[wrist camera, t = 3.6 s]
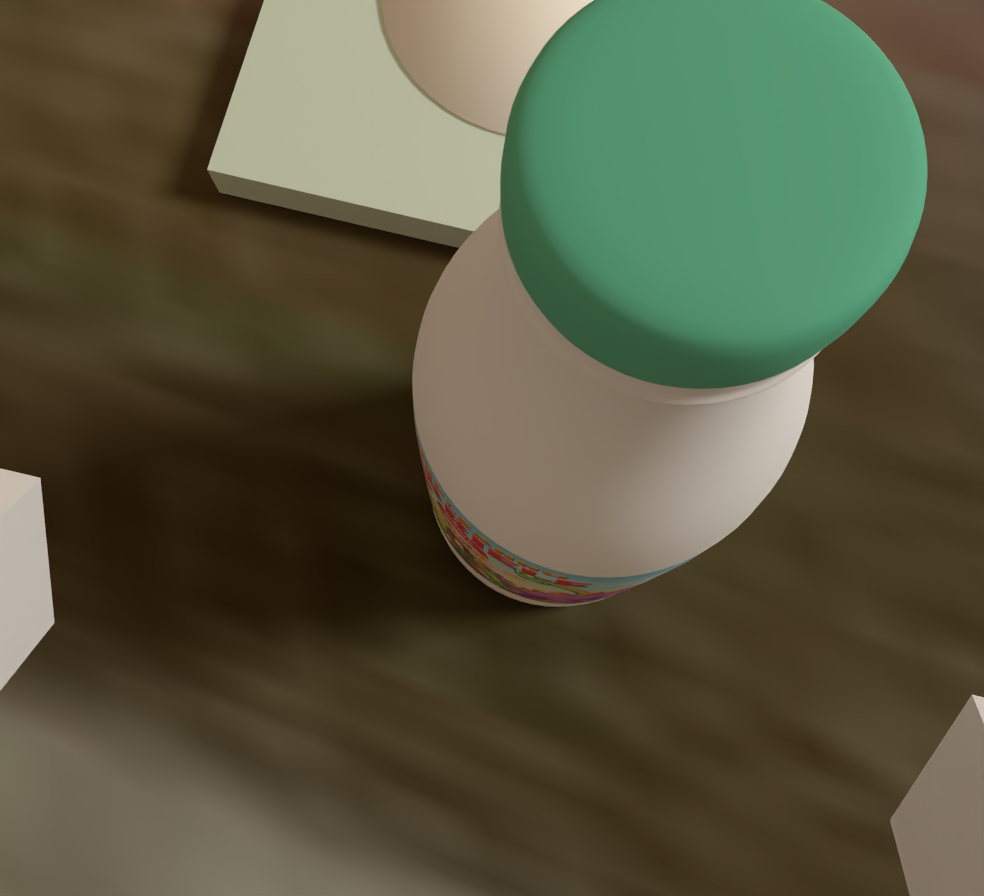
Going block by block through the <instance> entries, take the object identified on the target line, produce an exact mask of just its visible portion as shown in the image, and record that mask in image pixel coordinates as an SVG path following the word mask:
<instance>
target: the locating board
mask: <svg viewBox="0 0 984 896" xmlns="http://www.w3.org/2000/svg"><path fill="white" fill-rule="evenodd" d="M592 1H594V0H264V2H263V5H262V8H261V11H260V14H259V17H258V20H257V23H256V26H255V29H254V32H253V35H252V38H251V41H250V44H249V47H248V50H247V52H246V55H245V58H244V61H243V64H242V67H241V70H240V73H239V76H238V79H237V82H236V85H235V88H234V91H233V94H232V97H231V100H230V103H229V106H228V109H227V112H226V115H225V118H224V121H223V124H222V127H221V130H220V133H219V136H218V139H217V142H216V145H215V147H214V150H213V153H212V156H211V159H210V162H209V165H208V168H207V170H208V172H209V174H210V176H211V178H212V180H213V182H214V183H215V185H216V187H217V189H218V191H219V193H224V194H228V195H232V196H237V197H241V198H245V199H250V200H254V201H258V202H263V203H267V204H271V205H276V206H280V207H284V208H288V209H293V210H297V211H301V212H306V213H310V214H314V215H319V216H323V217H327V218H332V219H336V220H340V221H344V222H349V223H353V224H357V225H362V226H366V227H370V228H375V229H379V230H383V231H388V232H392V233H396V234H401V235H405V236H409V237H413V238H418V239H422V240H426V241H431V242H435V243H439V244H444V245H448V246H452V247H457V248H460V247H461V246H462V244H463V243H464V242H465V241H466V239H467V238H468V237H469V236H470V235H471V234H472V233H473V232H474V231H475V230H476V229H477V228H478V227H479V226H480V225H481V224H482V223H483V222H484V221H485V220H486V219H487V218H488V217H490V216H491V215H492V214H493V213H494V212H496V211H497V210H498V209H499V205H500V176H501V161H502V155H503V148H504V142H505V136H506V130H507V123H508V119H509V116H510V112H511V108H512V105H513V102H514V100H515V97H516V95H517V92H518V89H519V87H520V85H521V83H522V81H523V79H524V78H525V76H526V74H527V72H528V70H529V68H530V67H531V65H532V64H533V62H534V60H535V59H536V57H537V56H538V54H539V53H540V51H541V50H542V48H543V47H544V45H545V44H546V43H547V42H548V40H549V39H550V38H551V37H552V36H553V34H554V33H555V32H556V31H557V30H558V29H559V28H560V27H561V26H562V25H563V24H564V23H565V22H566V21H567V20H568V19H569V18H570V17H572V16H573V15H574V14H575V13H577V12H578V11H579V10H581V9H582V8H583V7H584V6H586V5H588V4H589V3H591V2H592Z"/></svg>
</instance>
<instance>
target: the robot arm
mask: <svg viewBox="0 0 984 896" xmlns="http://www.w3.org/2000/svg"><path fill="white" fill-rule="evenodd" d="M53 624H54V612H53V602H52V592H51V581H50V571H49V561H48V550H47V540H46V530H45V520H44V509H43V499H42V489H41V478H39V477H35V476H30V475H26V474H22V473H18V472H13V471H9V470H5V469H0V690H1V689H2V688H3V687H4V685H5V684H6V683H7V682H8V680H9V679H10V678H11V677H12V675H13V674H14V673H15V672H16V670H17V669H18V668H19V667H20V665H21V664H22V663H23V662H24V660H25V659H26V658H27V657H28V655H29V654H30V653H31V652H32V650H33V649H34V648H35V646H36V645H37V644H38V643H39V641H40V640H41V639H42V638H43V636H44V635H45V634H46V633H47V631H48V630H49V629H50V628H51V626H52V625H53ZM890 822H891V826H892V830H893V834H894V837H895V841H896V845H897V849H898V852H899V856H900V860H901V864H902V868H903V871H904V875H905V879H906V883H907V887H908V890H909V894H910V896H984V697H980V696H976V695H971V697H970V699H969V700H968V702H967V703H966V705H965V706H964V708H963V709H962V711H961V712H960V714H959V715H958V717H957V718H956V720H955V721H954V723H953V725H952V726H951V728H950V729H949V731H948V732H947V734H946V735H945V737H944V738H943V740H942V741H941V743H940V744H939V746H938V747H937V749H936V751H935V752H934V754H933V755H932V757H931V758H930V760H929V761H928V763H927V764H926V766H925V767H924V769H923V770H922V772H921V773H920V775H919V777H918V778H917V780H916V781H915V783H914V784H913V786H912V787H911V789H910V790H909V792H908V793H907V795H906V796H905V798H904V799H903V801H902V803H901V804H900V806H899V807H898V809H897V810H896V812H895V813H894V815H893V816H892V818H891V819H890Z"/></svg>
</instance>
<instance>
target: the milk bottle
mask: <svg viewBox="0 0 984 896" xmlns="http://www.w3.org/2000/svg"><path fill="white" fill-rule="evenodd" d="M926 189H927V156H926V148H925V142H924V136H923V131H922V128H921V124H920V120H919V117H918V114H917V111H916V109H915V106H914V104H913V101H912V98H911V96H910V94H909V92H908V90H907V88H906V86H905V85H904V83H903V81H902V79H901V78H900V76H899V74H898V73H897V71H896V70H895V68H894V66H893V65H892V64H891V62H890V61H889V60H888V58H887V57H886V56H885V54H884V53H883V52H882V51H881V49H880V48H879V47H878V46H877V45H876V44H875V43H874V42H873V41H872V40H871V39H870V37H869V36H868V35H867V34H865V33H864V32H863V31H862V30H861V29H860V28H859V27H858V26H857V25H856V24H854V23H853V22H852V21H851V20H849V19H848V18H847V17H845V16H844V15H843V14H841V13H840V12H839V11H837V10H836V9H834V8H833V7H831V6H829V5H828V4H826V3H825V2H823V1H822V0H594V1H592V2H591V3H589V4H588V5H586V6H584V7H583V8H582V9H581V10H579V11H578V12H577V13H575V14H574V15H573V16H572V17H570V18H569V19H568V20H567V21H566V22H565V23H564V24H563V25H562V26H561V27H560V28H559V29H558V30H557V31H556V32H555V33H554V34H553V36H552V37H551V38H550V39H549V40H548V42H547V43H546V44H545V45H544V47H543V48H542V50H541V51H540V53H539V54H538V56H537V57H536V59H535V60H534V62H533V64H532V65H531V67H530V68H529V70H528V72H527V74H526V76H525V78H524V79H523V81H522V83H521V85H520V87H519V89H518V92H517V95H516V97H515V100H514V102H513V105H512V108H511V112H510V116H509V119H508V123H507V130H506V136H505V142H504V148H503V155H502V161H501V176H500V205H499V209H498V210H497V211H496V212H494V213H493V214H492V215H491V216H490V217H488V218H487V219H486V220H485V221H484V222H483V223H482V224H481V225H480V226H479V227H478V228H477V229H476V230H475V231H474V232H473V233H472V234H471V235H470V236H469V237H468V238H467V239H466V241H465V242H464V243H463V244H462V246H461V247H460V248H459V249H458V251H457V252H456V253H455V254H454V256H453V257H452V259H451V261H450V262H449V264H448V265H447V267H446V268H445V270H444V272H443V274H442V275H441V277H440V279H439V281H438V283H437V285H436V287H435V289H434V291H433V293H432V294H431V297H430V299H429V302H428V304H427V307H426V310H425V312H424V316H423V319H422V323H421V326H420V330H419V335H418V339H417V344H416V349H415V355H414V361H413V376H412V385H413V406H414V421H415V428H416V435H417V441H418V446H419V451H420V456H421V461H422V466H423V470H424V474H425V479H426V483H427V487H428V491H429V495H430V500H431V503H432V507H433V511H434V514H435V517H436V520H437V523H438V525H439V527H440V530H441V532H442V534H443V536H444V538H445V540H446V541H447V543H448V545H449V546H450V548H451V550H452V551H453V553H454V554H455V555H456V557H457V558H458V559H459V561H460V562H461V563H462V564H463V565H464V566H465V567H466V568H467V569H468V570H469V571H470V572H471V573H472V574H473V575H474V576H475V577H476V578H478V579H479V580H480V581H482V582H483V583H484V584H486V585H487V586H489V587H490V588H492V589H494V590H495V591H497V592H499V593H501V594H503V595H505V596H508V597H510V598H513V599H515V600H518V601H521V602H525V603H529V604H533V605H540V606H550V607H565V606H575V605H582V604H588V603H592V602H595V601H599V600H602V599H605V598H608V597H610V596H613V595H615V594H618V593H620V592H623V591H625V590H628V589H630V588H632V587H635V586H637V585H639V584H642V583H644V582H646V581H648V580H650V579H652V578H655V577H657V576H659V575H661V574H663V573H665V572H667V571H669V570H671V569H673V568H676V567H678V566H680V565H682V564H684V563H686V562H687V561H689V560H691V559H692V558H694V557H695V556H697V555H699V554H700V553H702V552H703V551H705V550H707V549H708V548H710V547H711V546H713V545H714V544H716V543H717V542H719V541H720V540H722V539H723V538H724V537H726V536H727V535H728V534H730V533H731V532H732V531H733V530H735V529H736V528H737V527H738V526H739V525H740V524H741V523H742V522H743V521H744V520H745V519H746V518H748V517H749V516H750V514H751V513H752V512H753V511H754V510H755V509H756V507H757V506H758V505H759V504H760V503H761V501H762V500H763V499H764V498H765V497H766V496H767V494H768V493H769V492H770V491H771V490H772V488H773V487H774V485H775V484H776V482H777V481H778V479H779V478H780V476H781V475H782V473H783V471H784V469H785V468H786V466H787V464H788V462H789V460H790V458H791V456H792V454H793V451H794V449H795V447H796V444H797V442H798V440H799V437H800V435H801V432H802V430H803V426H804V423H805V419H806V416H807V412H808V407H809V401H810V396H811V389H812V382H813V369H814V357H815V356H816V355H817V354H818V353H819V352H820V351H821V350H822V349H823V348H825V347H826V346H828V345H829V344H830V343H832V342H833V341H834V340H836V339H837V338H838V337H840V336H841V335H842V334H843V333H845V332H846V331H847V330H848V329H849V328H850V327H851V326H852V325H853V324H854V323H855V322H856V321H857V320H858V319H859V318H860V317H861V316H862V315H863V314H864V313H865V312H866V311H867V310H868V309H869V308H870V307H871V306H872V305H873V304H874V303H875V302H876V301H877V299H878V298H879V297H880V296H881V295H882V294H883V292H884V291H885V290H886V289H887V288H888V286H889V285H890V283H891V282H892V280H893V279H894V277H895V276H896V274H897V273H898V271H899V269H900V268H901V266H902V264H903V262H904V260H905V258H906V256H907V254H908V252H909V249H910V247H911V244H912V242H913V239H914V236H915V234H916V231H917V229H918V226H919V223H920V219H921V215H922V212H923V208H924V202H925V196H926Z"/></svg>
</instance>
